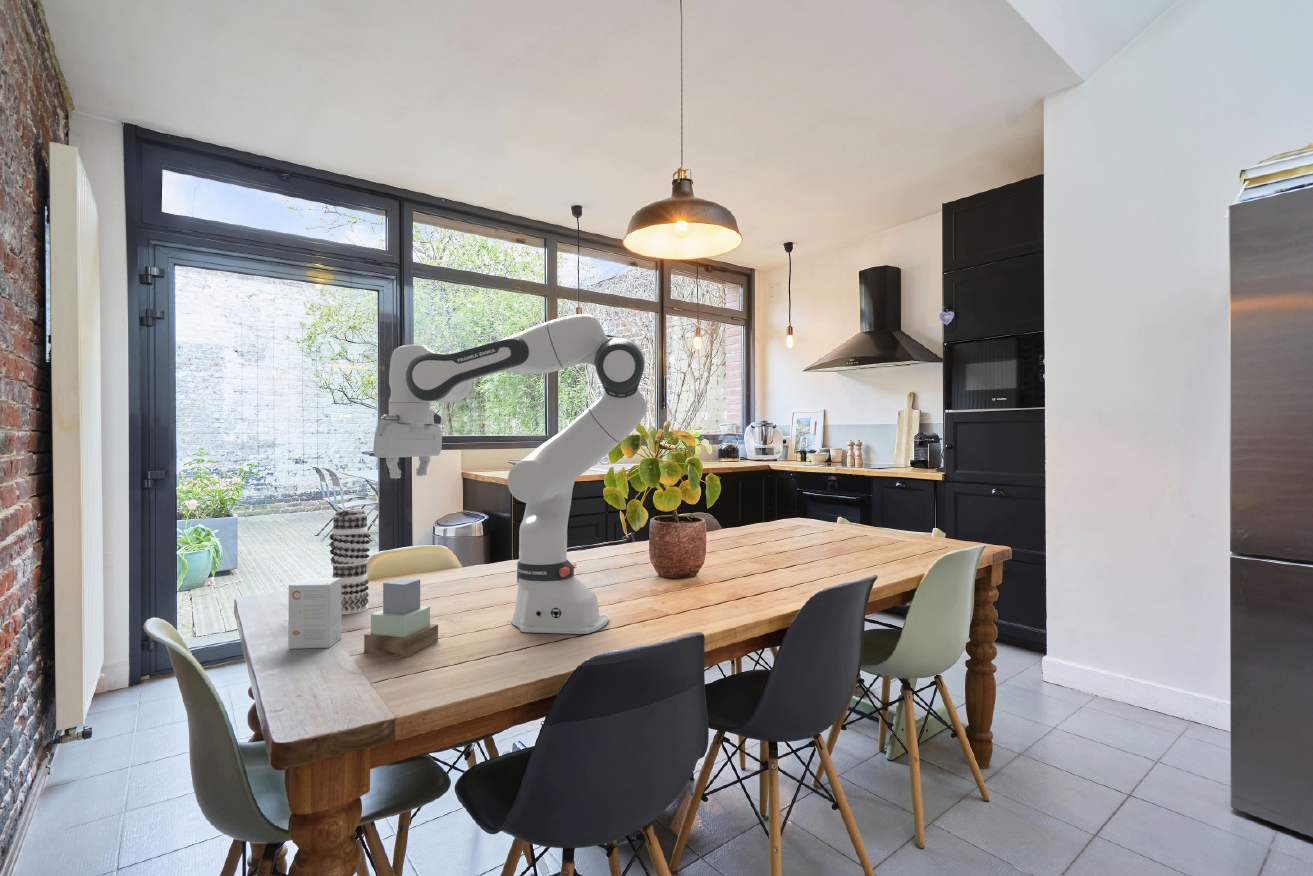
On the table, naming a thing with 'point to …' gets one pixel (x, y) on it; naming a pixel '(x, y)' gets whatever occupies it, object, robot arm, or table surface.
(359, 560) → the decorative candle
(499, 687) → the table surface
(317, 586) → the small box
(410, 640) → the tower base
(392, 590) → the block
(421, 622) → the tower top
